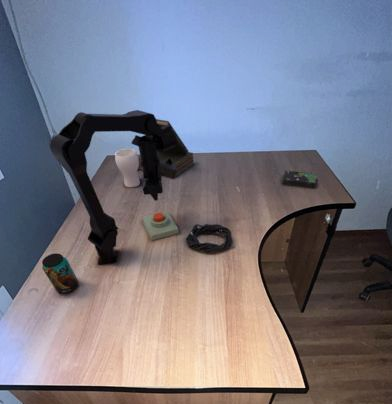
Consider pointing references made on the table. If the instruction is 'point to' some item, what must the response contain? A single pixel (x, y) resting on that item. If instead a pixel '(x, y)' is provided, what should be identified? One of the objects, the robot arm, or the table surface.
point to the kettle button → (158, 217)
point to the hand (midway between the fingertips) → (156, 200)
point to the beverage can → (60, 273)
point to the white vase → (128, 166)
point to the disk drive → (299, 179)
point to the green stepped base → (160, 226)
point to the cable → (209, 230)
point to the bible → (174, 153)
